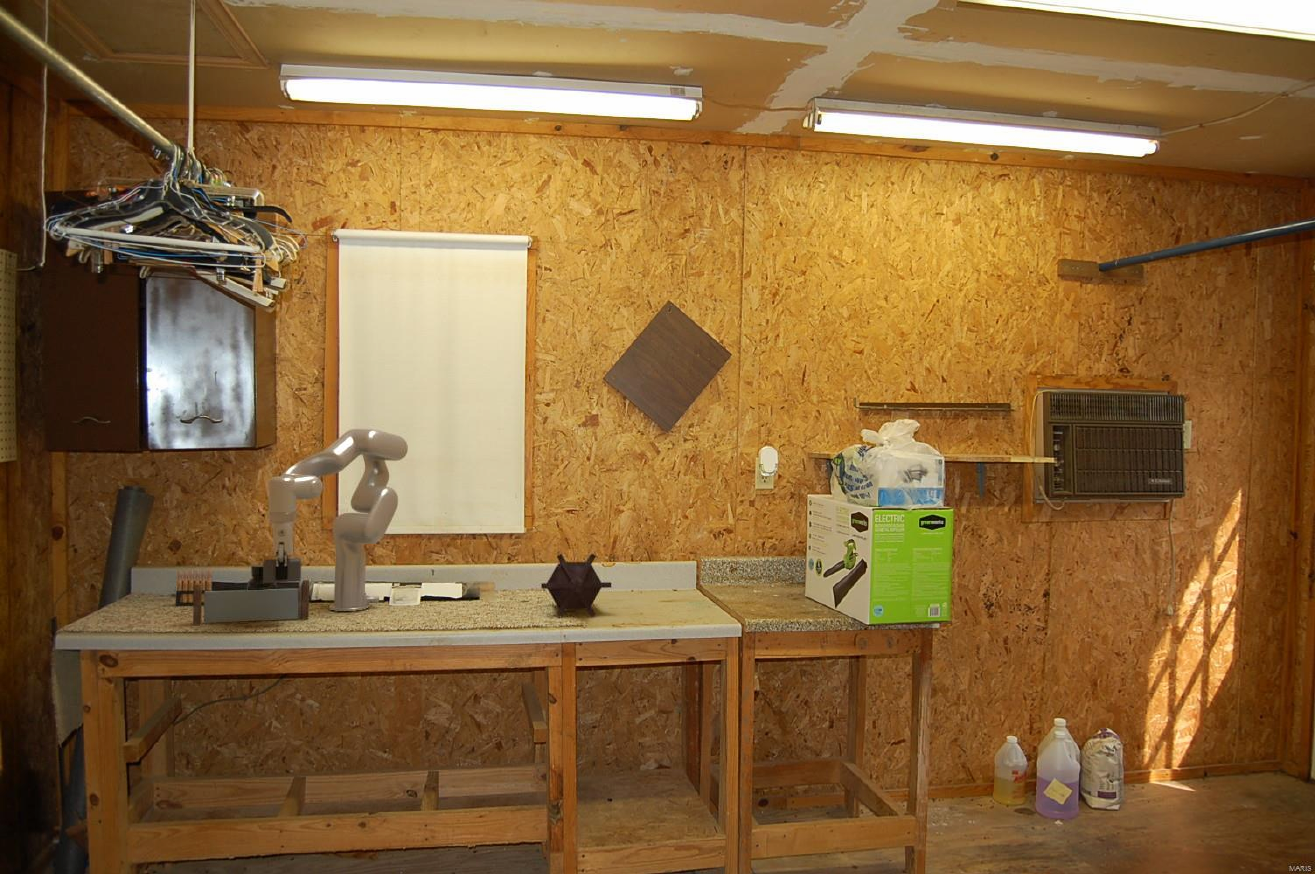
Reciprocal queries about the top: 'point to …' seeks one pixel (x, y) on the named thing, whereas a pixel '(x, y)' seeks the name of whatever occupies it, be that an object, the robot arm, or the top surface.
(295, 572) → the doorstop block
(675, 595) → the top surface
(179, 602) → the ammunition clip
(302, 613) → the door frame
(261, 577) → the ink bottle
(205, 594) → the door
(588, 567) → the black spiked polyhedron
